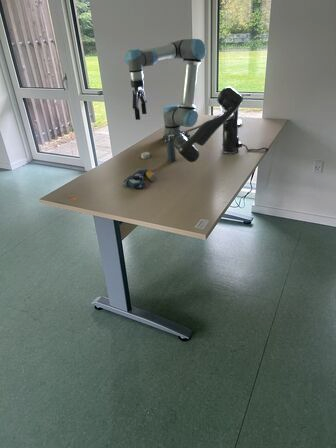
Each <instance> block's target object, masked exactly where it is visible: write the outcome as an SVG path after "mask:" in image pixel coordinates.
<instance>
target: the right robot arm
mask: <svg viewBox="0 0 336 448" xmlns="http://www.w3.org/2000/svg"><path fill="white" fill-rule="evenodd" d="M216 98H217V99H216V102H217V104H218V105H219V107H220V111H221V113H222V114H221V115H220V116H217V117H216V118H214V117H213V118H214V119H212V118H211V119H212V120H211V119H209V120H207V121H205V122H203V123H202V124H200V125H201V126H200V125H199V126H200V127H198V128H197V130H196V131H195V132H194V133H193V134H192V135H190V133H189V132H182V131H183V130H182V131H181V132H180V133H177V134H175V135H168V134H165V136H163V135H162V141H163V142H164V143H165V144H167V143H168V141H170V142H172V143H173V145H174V146H175V150H178V153H179V155H180V156H182V157H183V158H184V159H185V160H186V161H187V162H188V163H195V162H197V160H198V159H199V158H200V151H199V150H198V149H197V148H196V147H195V145H194V144H197V145H198V146H201V147H202V146H204V145H206V144H207V142H208V141H209V140H210V138H211V137H212V136H213V135H214V133H215V132H216V131H217V130H218V129H219V128H220V127H221V126H222V144H221V145H222V153H223V154H227V155H230V154H231V155H232V154H236V153H239V149H240V148H243V147H245V149H246V151H249V152H251V151H256V152H257V151H261V150H266V151H269V148H267V147H261V148H256V149H255V148H251V149H249V148H248V146H247V145H246V144H243V142H241V141H240V137H239V125H238V119H239V111H240V110H239V109H240V106H241V105H242V103H243V101H244V97H243V96H242V95H241V94H240V93H239V92H238V91H236V90H235V88H233V87H231V86H226V87H224V88H222V90H221V91H220V92H219V94H218V96H217V97H216ZM168 137H169V139H168Z"/></svg>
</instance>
